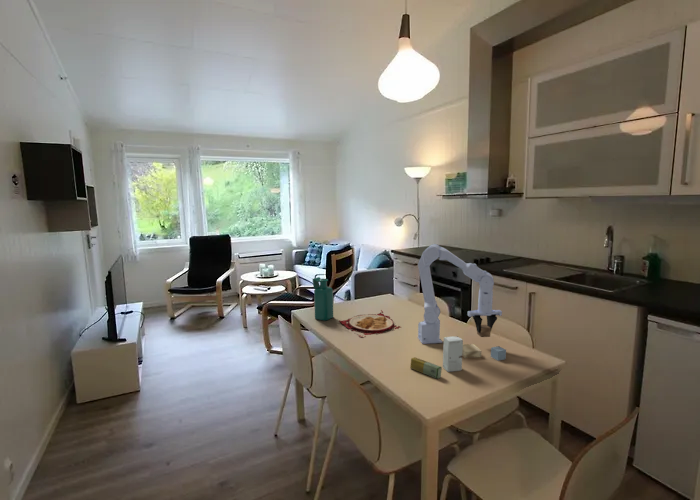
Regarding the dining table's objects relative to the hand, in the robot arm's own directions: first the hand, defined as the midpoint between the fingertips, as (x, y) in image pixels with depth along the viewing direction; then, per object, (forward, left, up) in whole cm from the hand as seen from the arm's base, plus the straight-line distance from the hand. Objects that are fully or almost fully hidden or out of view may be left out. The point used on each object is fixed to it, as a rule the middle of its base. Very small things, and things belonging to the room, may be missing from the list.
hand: (483, 331), depth 156 cm
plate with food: (-44, +33, -8) cm, 55 cm away
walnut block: (0, 0, -2) cm, 2 cm away
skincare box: (-21, -18, -7) cm, 29 cm away
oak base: (-9, -6, -7) cm, 13 cm away
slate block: (+1, -11, -7) cm, 13 cm away
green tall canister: (-69, +48, -7) cm, 84 cm away
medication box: (-32, -20, -7) cm, 38 cm away
